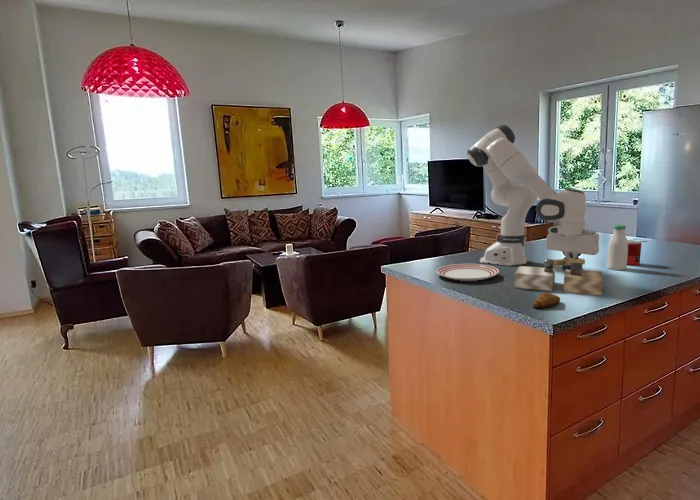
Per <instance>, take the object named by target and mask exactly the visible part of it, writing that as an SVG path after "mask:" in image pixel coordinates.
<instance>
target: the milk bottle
mask: <svg viewBox="0 0 700 500" xmlns="http://www.w3.org/2000/svg"><path fill="white" fill-rule="evenodd" d="M626 227H627V226H626V225H625V224H615V225H613V234H612V235H611V237H610V239H609V243H608V247H607V249H608V250H607V261H606V262H607V263H606V266H607V267H606V268H607V269H609V270H614V271H615V270H617V271H624V270H625V271H626V269H627V267H628V265H627V255H628V241H627V240H628V239H627V236H626V233H625V231H626Z"/></svg>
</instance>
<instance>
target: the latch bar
mask: <svg viewBox="0 0 700 500" xmlns="http://www.w3.org/2000/svg"><path fill="white" fill-rule="evenodd" d="M571 263H583V265H585V264H586V259H584V258H576V259H567V258H562V259H559V258H557V259H551V258H546V259H544V260H543V266H546V267H553V268H554V267H559V266H561V267H562V266H571ZM583 265H582V266H583Z"/></svg>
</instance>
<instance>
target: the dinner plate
mask: <svg viewBox="0 0 700 500" xmlns="http://www.w3.org/2000/svg"><path fill="white" fill-rule="evenodd" d="M435 272H436V274H438V275H439V276H441V277H444V278H446V279H449V280H452V279H453V280H452V281H457V280H460V281H459V282H479V281H478V280H481V281H484V279H485V280H487V279H491V278H493V277H495V276H497V275H498V274H499V273H500V270H499V269H498V268H497V267H496V266H492V265H489V264H483V263H482V264H480V263H479V264H478V263H453V264H448V265H442V266H440V267H438V268H437V269H436V270H435Z"/></svg>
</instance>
